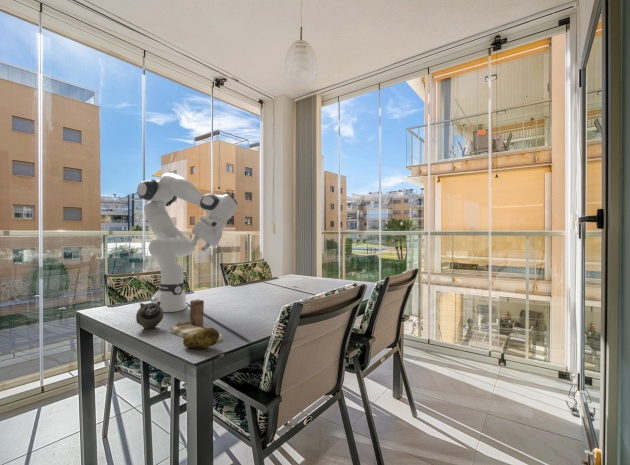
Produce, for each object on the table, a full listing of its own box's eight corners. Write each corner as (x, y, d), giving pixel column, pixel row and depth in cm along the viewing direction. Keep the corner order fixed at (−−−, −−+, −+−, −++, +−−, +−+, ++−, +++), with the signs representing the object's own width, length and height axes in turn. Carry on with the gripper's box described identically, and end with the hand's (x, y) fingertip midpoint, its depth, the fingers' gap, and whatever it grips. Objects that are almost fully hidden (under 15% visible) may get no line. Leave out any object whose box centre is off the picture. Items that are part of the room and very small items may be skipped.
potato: (198, 342, 124) (198, 321, 124) (222, 349, 117) (223, 327, 117) (180, 348, 116) (180, 327, 116) (204, 356, 110) (205, 333, 110)
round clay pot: (142, 336, 129) (167, 329, 137) (142, 306, 129) (167, 302, 137) (132, 330, 136) (157, 324, 144) (132, 302, 135) (157, 298, 143)
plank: (170, 332, 134) (170, 327, 134) (187, 327, 141) (187, 323, 141) (205, 345, 120) (205, 340, 120) (222, 339, 127) (222, 334, 127)
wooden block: (174, 331, 135) (175, 303, 135) (197, 325, 144) (198, 299, 144) (180, 333, 133) (180, 305, 133) (203, 327, 142) (203, 300, 142)
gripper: (218, 228, 167) (203, 250, 164) (200, 214, 148) (182, 238, 145) (228, 234, 165) (212, 256, 162) (210, 220, 146) (192, 245, 143)
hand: (197, 248), depth 153 cm, fingers open, 8 cm apart
